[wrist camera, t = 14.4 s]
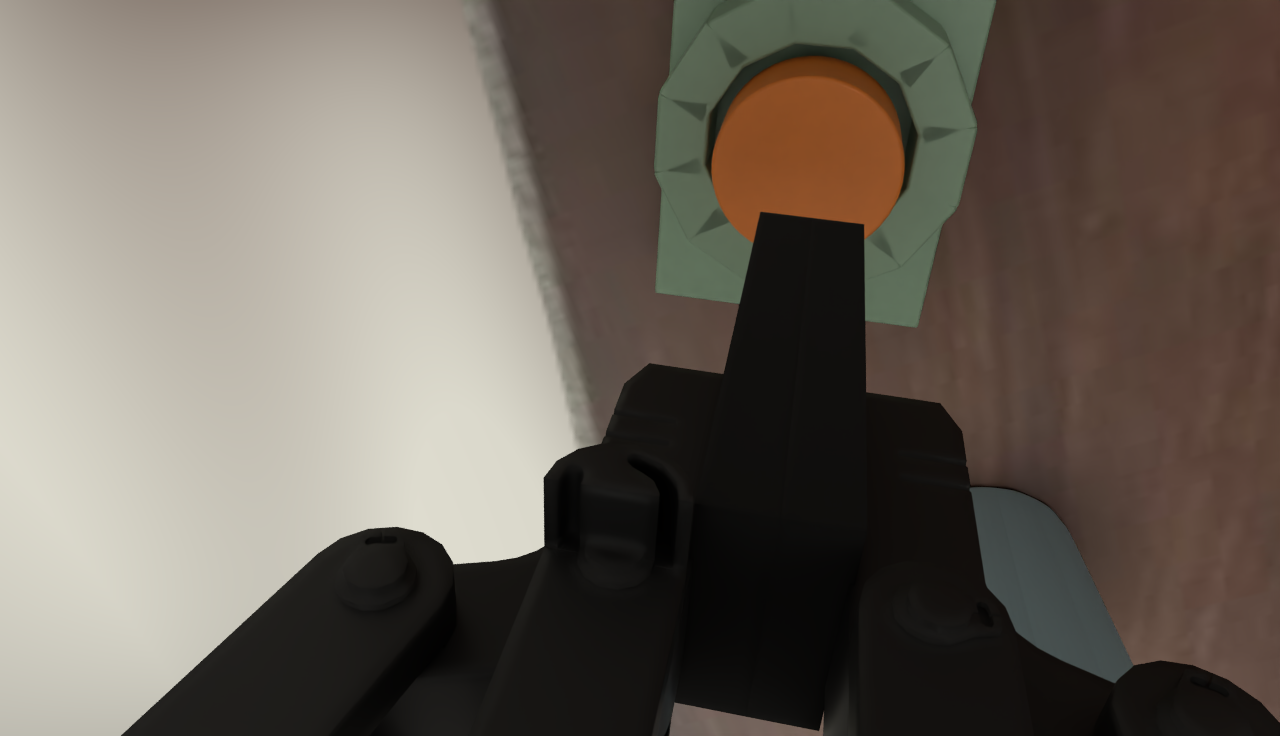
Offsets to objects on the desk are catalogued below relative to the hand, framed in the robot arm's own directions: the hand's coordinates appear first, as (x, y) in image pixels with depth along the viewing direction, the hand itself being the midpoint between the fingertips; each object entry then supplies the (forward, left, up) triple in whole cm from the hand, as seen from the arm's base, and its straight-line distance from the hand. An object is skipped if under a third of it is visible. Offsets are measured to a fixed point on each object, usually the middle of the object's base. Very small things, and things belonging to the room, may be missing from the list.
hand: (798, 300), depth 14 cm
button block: (0, 0, -12) cm, 12 cm away
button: (0, 0, -8) cm, 8 cm away
